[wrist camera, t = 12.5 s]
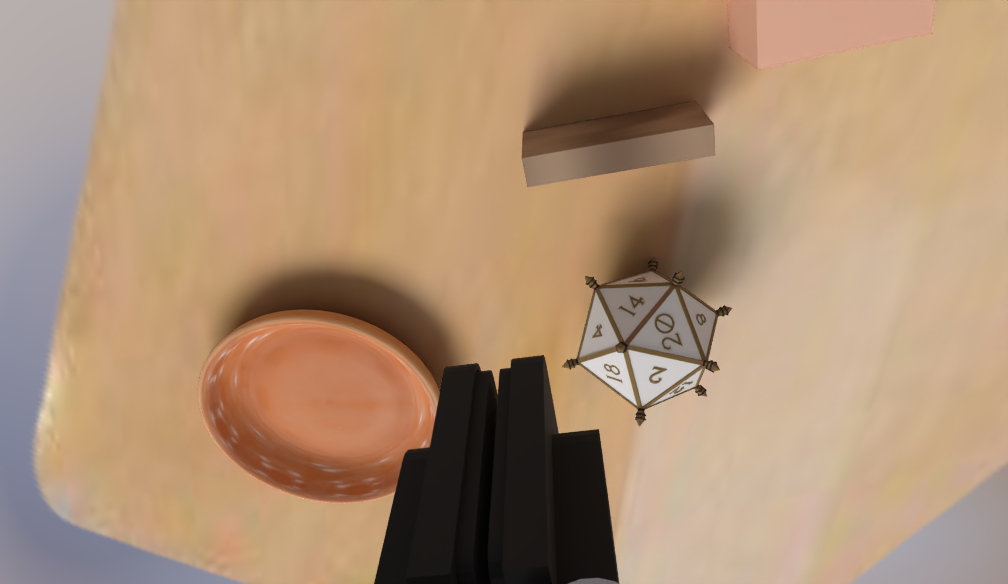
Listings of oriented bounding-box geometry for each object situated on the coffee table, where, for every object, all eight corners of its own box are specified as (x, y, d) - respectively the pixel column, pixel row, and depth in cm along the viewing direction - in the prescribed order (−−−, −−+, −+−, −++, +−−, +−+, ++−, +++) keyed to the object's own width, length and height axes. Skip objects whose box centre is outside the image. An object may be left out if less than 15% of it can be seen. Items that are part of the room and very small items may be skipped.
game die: (601, 261, 43) (534, 262, 34) (737, 252, 39) (702, 251, 30) (608, 397, 43) (544, 433, 34) (744, 403, 39) (712, 446, 30)
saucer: (271, 486, 50) (257, 518, 47) (172, 314, 42) (149, 341, 40) (474, 458, 48) (471, 490, 45) (410, 271, 40) (402, 296, 37)
